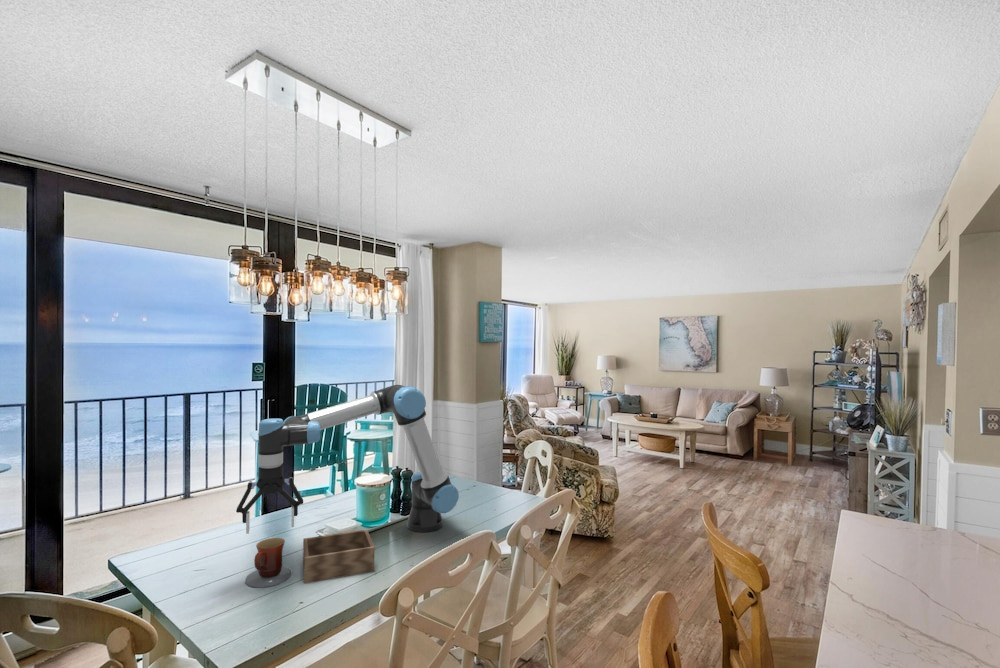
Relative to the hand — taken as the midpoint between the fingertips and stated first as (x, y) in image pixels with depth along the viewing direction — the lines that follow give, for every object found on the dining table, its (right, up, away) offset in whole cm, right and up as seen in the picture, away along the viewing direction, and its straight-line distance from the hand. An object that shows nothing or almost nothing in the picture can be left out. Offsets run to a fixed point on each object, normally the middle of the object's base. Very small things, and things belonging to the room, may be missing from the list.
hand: (270, 529), depth 161 cm
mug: (-1, -16, -1) cm, 16 cm away
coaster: (0, -16, 0) cm, 16 cm away
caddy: (+20, -16, +8) cm, 27 cm away
